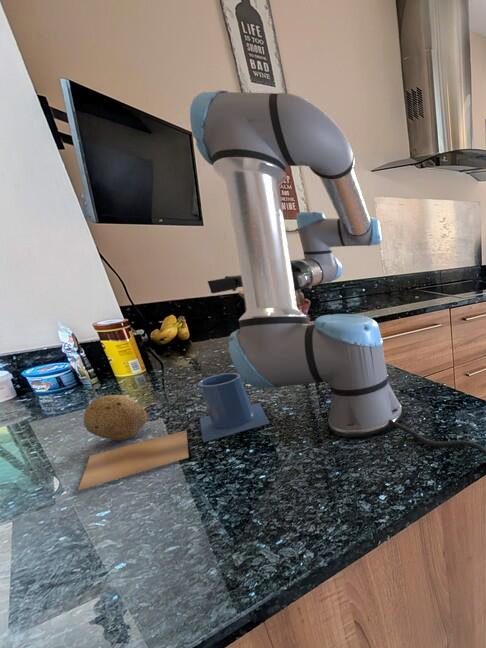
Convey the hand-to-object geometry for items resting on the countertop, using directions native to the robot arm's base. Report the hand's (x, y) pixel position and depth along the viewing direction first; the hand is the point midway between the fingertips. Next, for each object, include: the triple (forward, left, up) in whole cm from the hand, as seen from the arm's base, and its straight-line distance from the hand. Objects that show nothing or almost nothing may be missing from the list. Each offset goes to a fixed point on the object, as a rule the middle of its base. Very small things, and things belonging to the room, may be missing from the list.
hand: (236, 287), depth 88 cm
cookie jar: (+52, -14, -28) cm, 60 cm away
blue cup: (-8, +9, -28) cm, 30 cm away
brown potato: (-1, +28, -28) cm, 39 cm away
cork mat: (-13, +25, -28) cm, 39 cm away
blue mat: (-8, +9, -28) cm, 30 cm away
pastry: (+20, +31, -28) cm, 46 cm away
